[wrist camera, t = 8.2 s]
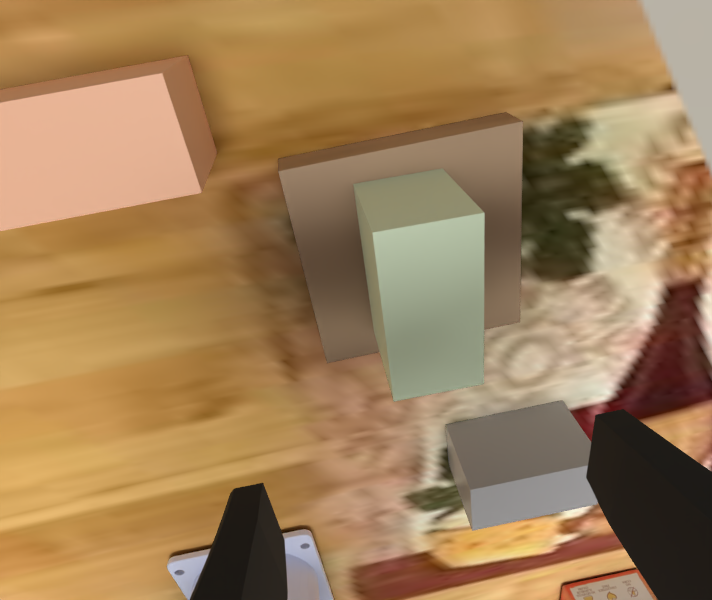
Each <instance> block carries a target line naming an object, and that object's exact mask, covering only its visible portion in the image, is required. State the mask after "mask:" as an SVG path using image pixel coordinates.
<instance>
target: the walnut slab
mask: <svg viewBox="0 0 712 600" xmlns="http://www.w3.org/2000/svg"><path fill="white" fill-rule="evenodd" d="M522 149H523V121H521V120H519V119H518V118H516V117H514V116H512V115H510V114H508V113H506V112H505V113H500V114H495V115H490V116H486V117H481V118H476V119H471V120H466V121H461V122H456V123H451V124H446V125H441V126H436V127H431V128H427V129H422V130H417V131H412V132H407V133H402V134H397V135H392V136H387V137H382V138H377V139H373V140H368V141H363V142H358V143H353V144H348V145H343V146H338V147H333V148H328V149H323V150H318V151H314V152H309V153H304V154H299V155H294V156H289V157H284V158H279V159H278V172H279V176H280V180H281V184H282V188H283V192H284V196H285V200H286V204H287V208H288V212H289V216H290V220H291V223H292V227H293V231H294V235H295V239H296V243H297V247H298V251H299V255H300V259H301V263H302V267H303V271H304V274H305V278H306V282H307V286H308V290H309V294H310V298H311V302H312V306H313V310H314V314H315V318H316V322H317V326H318V329H319V333H320V337H321V341H322V345H323V349H324V353H325V357H326V361H327V363H330V362H335V361H340V360H344V359H349V358H354V357H358V356H363V355H368V354H372V353H377V352H380V351H379V348H378V344H377V341H376V337H375V334H374V329H373V321H372V314H371V307H370V300H369V293H368V286H367V279H366V272H365V264H364V257H363V250H362V243H361V236H360V229H359V222H358V215H357V207H356V200H355V193H354V186H353V184H356V183H361V182H367V181H373V180H379V179H384V178H390V177H396V176H402V175H407V174H413V173H419V172H425V171H430V170H436V169H442V168H443V169H444V171H445V172H446V173H447V174H448V175H449V176H450V177H451V178H452V179H453V180H454V181H455V182H456V183H457V184H458V185H459V186H460V187H461V188H462V189H463V191H464V192H465V193H466V194H467V195H468V196H469V197H470V198H471V199H472V200H473V201H474V202H475V203H476V204H477V205H478V206H479V207H480V208H481V210H482V211H483V212H484V213H485V223H484V330H485V329H490V328H495V327H499V326H504V325H509V324H513V323H518V322H520V285H521V217H522Z"/></svg>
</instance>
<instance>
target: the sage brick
mask: <svg viewBox="0 0 712 600" xmlns="http://www.w3.org/2000/svg"><path fill="white" fill-rule="evenodd" d="M353 186H354V193H355V200H356V207H357V215H358V222H359V229H360V236H361V243H362V250H363V257H364V264H365V272H366V279H367V286H368V293H369V300H370V307H371V314H372V321H373V329H374V334H375V337H376V341H377V344H378V348H379V351H380V355H381V358H382V362H383V365H384V369H385V373H386V376H387V380H388V383H389V387H390V390H391V394H392V397H393V401H399V400H404V399H409V398H415V397H420V396H425V395H430V394H435V393H441V392H446V391H451V390H456V389H461V388H467V387H472V386H477V385H482V384H484V223H485V213H484V212H483V211H482V210H481V208H480V207H479V206H478V205H477V204H476V203H475V202H474V201H473V200H472V199H471V198H470V197H469V196H468V195H467V194H466V193H465V192H464V191H463V189H462V188H461V187H460V186H459V185H458V184H457V183H456V182H455V181H454V180H453V179H452V178H451V177H450V176H449V175H448V174H447V173H446V172H445V171H444V169H443V168H442V169H436V170H430V171H425V172H419V173H413V174H407V175H402V176H396V177H390V178H384V179H379V180H373V181H367V182H361V183H356V184H353Z"/></svg>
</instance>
